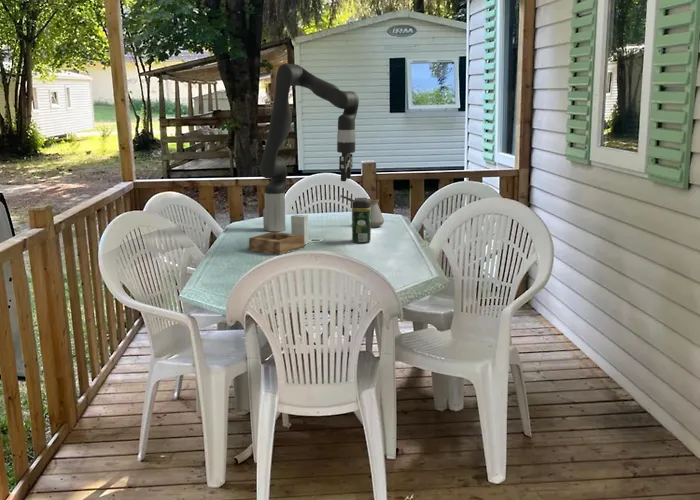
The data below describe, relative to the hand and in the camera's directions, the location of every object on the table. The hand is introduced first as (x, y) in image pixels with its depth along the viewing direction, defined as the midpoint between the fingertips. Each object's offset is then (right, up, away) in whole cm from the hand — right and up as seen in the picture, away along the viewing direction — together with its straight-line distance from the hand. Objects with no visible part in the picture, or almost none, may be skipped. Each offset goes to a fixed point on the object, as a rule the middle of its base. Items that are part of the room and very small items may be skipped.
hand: (345, 179), depth 286 cm
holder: (-28, -29, -10) cm, 41 cm away
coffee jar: (+7, -26, +4) cm, 27 cm away
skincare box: (-19, -27, 0) cm, 33 cm away
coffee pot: (+7, -18, +39) cm, 43 cm away
